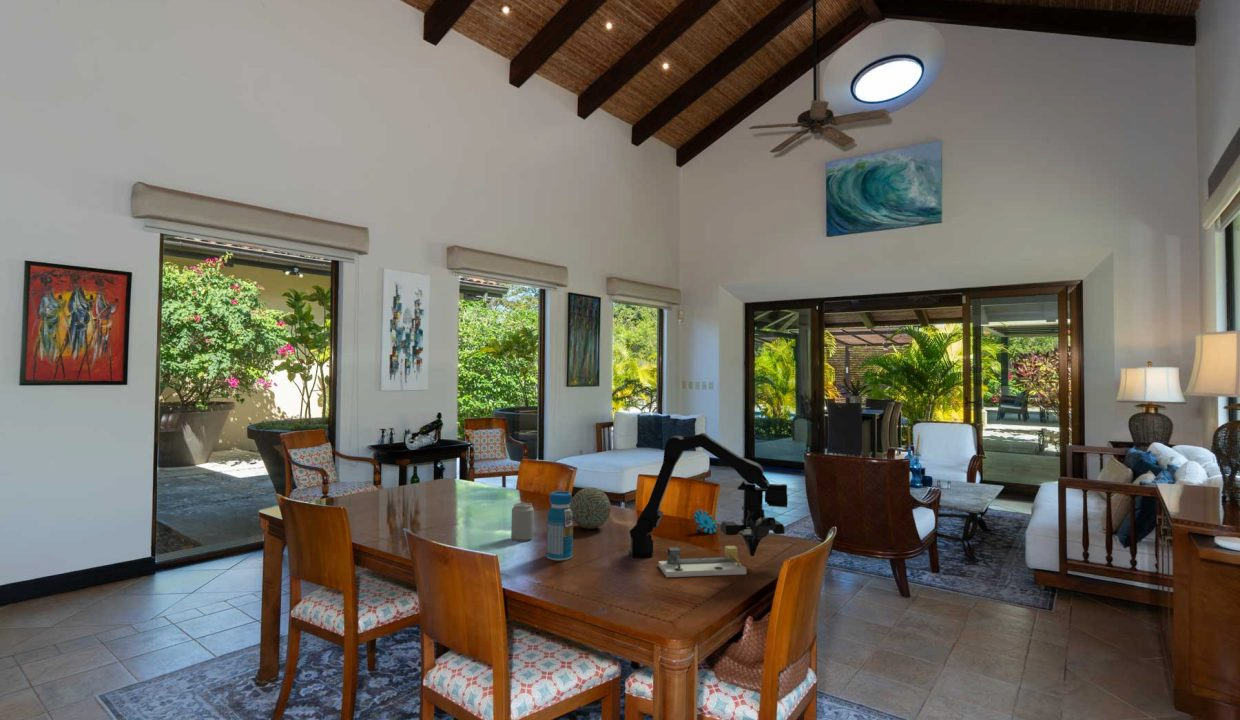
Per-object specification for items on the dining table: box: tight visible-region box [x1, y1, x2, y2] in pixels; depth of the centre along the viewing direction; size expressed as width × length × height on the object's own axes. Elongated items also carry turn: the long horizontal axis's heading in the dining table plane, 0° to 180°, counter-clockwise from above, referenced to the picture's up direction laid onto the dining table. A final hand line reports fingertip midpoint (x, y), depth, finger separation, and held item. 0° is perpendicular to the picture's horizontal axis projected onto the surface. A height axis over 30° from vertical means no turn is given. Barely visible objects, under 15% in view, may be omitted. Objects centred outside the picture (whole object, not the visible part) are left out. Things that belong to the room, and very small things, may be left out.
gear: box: [693, 509, 718, 535], centre depth 234 cm, size 11×6×10 cm
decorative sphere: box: [569, 486, 611, 530], centre depth 234 cm, size 15×15×15 cm
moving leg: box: [724, 545, 741, 566], centre depth 190 cm, size 3×8×4 cm, turn 10°
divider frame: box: [666, 546, 739, 568], centre depth 189 cm, size 22×8×4 cm, turn 100°
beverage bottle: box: [545, 490, 575, 562], centre depth 198 cm, size 8×8×20 cm
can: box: [510, 502, 535, 542], centre depth 218 cm, size 8×8×12 cm
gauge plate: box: [658, 560, 747, 578], centre depth 189 cm, size 24×10×2 cm, turn 100°
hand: (751, 555), depth 194 cm, fingers closed
